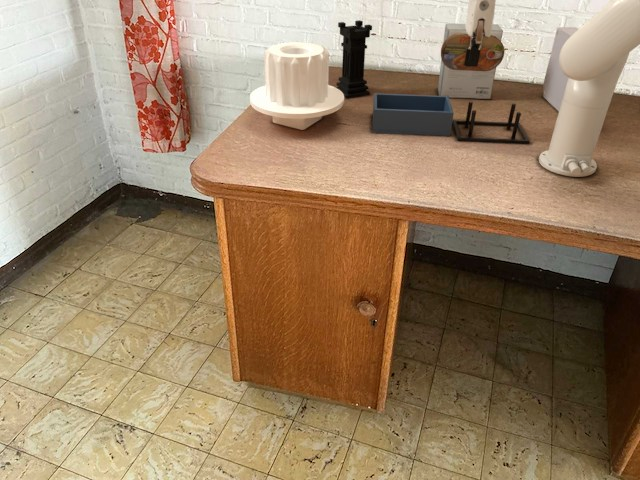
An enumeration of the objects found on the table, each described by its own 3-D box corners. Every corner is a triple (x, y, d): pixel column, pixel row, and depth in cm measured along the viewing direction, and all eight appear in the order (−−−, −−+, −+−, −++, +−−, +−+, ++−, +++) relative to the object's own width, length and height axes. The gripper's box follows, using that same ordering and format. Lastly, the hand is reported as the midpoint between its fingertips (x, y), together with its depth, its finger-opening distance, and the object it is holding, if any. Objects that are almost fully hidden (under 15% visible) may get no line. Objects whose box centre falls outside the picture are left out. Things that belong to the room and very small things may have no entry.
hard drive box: (487, 91, 169) (499, 24, 157) (490, 99, 162) (504, 30, 151) (436, 89, 170) (445, 22, 158) (438, 97, 164) (448, 28, 152)
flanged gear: (359, 114, 152) (363, 45, 141) (312, 147, 134) (313, 70, 123) (284, 98, 162) (282, 32, 151) (232, 126, 144) (226, 53, 133)
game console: (577, 130, 144) (599, 54, 133) (539, 95, 166) (556, 27, 155) (598, 130, 144) (623, 54, 133) (558, 94, 167) (576, 27, 155)
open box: (450, 136, 140) (453, 112, 137) (372, 132, 142) (373, 109, 138) (445, 118, 150) (448, 96, 147) (372, 115, 151) (374, 93, 148)
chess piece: (334, 90, 168) (336, 22, 157) (357, 86, 171) (360, 19, 160) (346, 98, 162) (349, 28, 151) (369, 94, 165) (374, 26, 154)
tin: (438, 69, 134) (444, 34, 129) (437, 64, 137) (443, 30, 131) (500, 73, 133) (508, 38, 128) (498, 68, 136) (506, 34, 130)
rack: (529, 144, 137) (535, 117, 133) (457, 140, 138) (462, 114, 134) (519, 125, 146) (524, 100, 142) (452, 122, 148) (456, 97, 144)
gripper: (507, -10, 116) (490, 75, 127) (495, -23, 130) (480, 55, 140) (472, -11, 117) (457, 73, 128) (463, -25, 130) (451, 53, 141)
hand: (469, 63), depth 134 cm, fingers closed on tin, 2 cm apart
